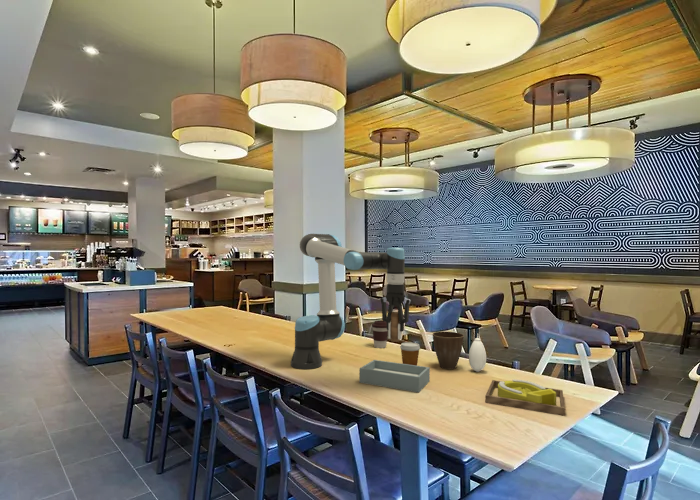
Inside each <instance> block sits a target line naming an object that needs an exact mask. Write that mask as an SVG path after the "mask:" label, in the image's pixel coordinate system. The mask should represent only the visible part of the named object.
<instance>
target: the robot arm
mask: <svg viewBox="0 0 700 500" xmlns="http://www.w3.org/2000/svg"><path fill="white" fill-rule="evenodd" d="M299 249H300V251H301V253H302V254H303V255H305V256H307V257H309V258H314V261H315V262H316V263H317V269H318V270H317V271H318V274H317V275H318V294H319V295H318V297H319V298H318V299H319V303H318V304H319V311H318V312H317V313H316V315H304V316H301V317H298V318H297V319H296V321H295V323H294V350H293V354H292V357H291V360H290V366H291V368H294V369H299V370H312V369H316V368H321V367H322V365H323V360H322V359H323V358H322V356H321V353H320V350H319V349H320V348H319V345H320V342H326V341H330V340H331V341H333V340H336V339H339V338H340V337H342V335H343V334H344V331H345V326H346V324H345V320H344V318H343V317H342V316H341V315H340V312H339V311H338V309H337V294H336V289H337V288H336V287H337V286H336V266H335V263H336V264H337V265H338V264H339V265H342V266H344V267H345V268H346V269H348V270H352V271H357V270H360V271H361V270H386V283H387V284H386V295H385V296H384V297H380V299H379V300H380V302H381V315H382V316H381V317H382V320H381V321H385V322H386V323H387V330H388V339H390V340H391V312H394V311H393V310H394V307H395V306H396V308H397V312H398V315H399V324H398V339H399V341H400V340H401V339H403V336H402V334H403V331H405V323H408V322H409V319H410V318H409V316H410V304H411V303H412V299H410V298H407V297H406V296H405V263H406V261H405V259H406V257H405V249H404V248H403V247H388V248H387V249H386V252H384V251H383V252H378V251H374V252H373V251H365V252H364V251H357V250H354V249H350V248H347V247H342V243H341V240H340V238H338V236H336V235H335V234H327V233H326V234H325V233H324V234H323V233H308V234H306V235H304V236H303V237H302V238H301V239H300V242H299ZM387 302H388V309H387ZM403 303H404V310H403Z"/></svg>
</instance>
